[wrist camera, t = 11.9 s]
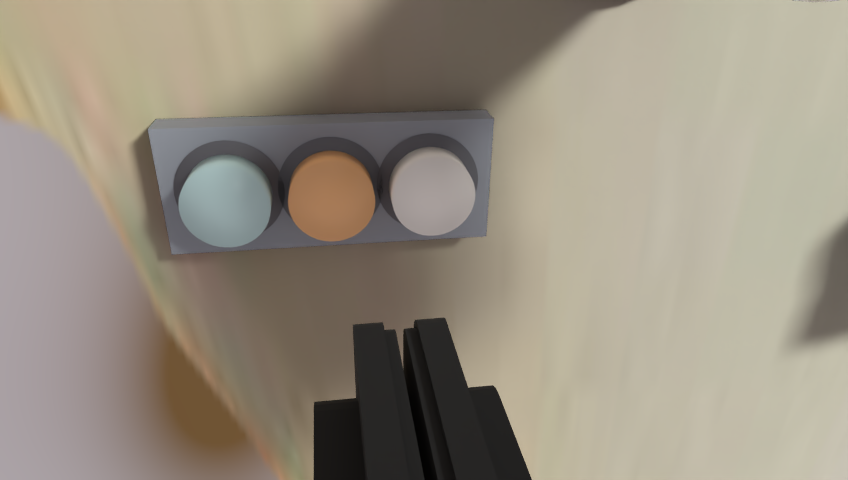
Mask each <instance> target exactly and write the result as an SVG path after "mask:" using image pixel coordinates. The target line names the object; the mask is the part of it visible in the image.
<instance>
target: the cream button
mask: <svg viewBox="0 0 848 480" xmlns="http://www.w3.org/2000/svg"><path fill="white" fill-rule="evenodd" d="M389 193H390V198H391V201H392V205H393V209H394V212H395V214H396V216H397V218H398V220H399V221H400V222H401V223H402V224H403V225H404V226H405V227H406V228H407V229H409V230H411V231H412V232H415V233H417V234H421V235H426V236H435V235H441V234H445V233H448V232H450V231H452V230H454V229H455V228H457V227H458V226H460V225H461V224H462V223H463V222H464V221H465V220H466V219H467V217H468V216H469V214H470V213H471V211H472V208H473V206H474V202H475V186H474V183H473V180H472V178H471V176H470V174H469V173H468V171H467V169H466V168H465V166H464V164H463V163H462V161H461V160H460V159H459V158H458V157H457V156H456V155H455V154H453V153H452V152H450V151H448V150H446V149H442V148H438V147H424V148H419V149H416V150H414V151H412V152H410V153H408V154H407V155H405V156H404V157H403V158H402V159H401V160H400V161H399V162H398V163H397V164H396V166H395V167H394V169H393V171H392V173H391V176H390V180H389Z"/></svg>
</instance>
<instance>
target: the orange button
mask: <svg viewBox="0 0 848 480" xmlns="http://www.w3.org/2000/svg"><path fill="white" fill-rule="evenodd" d="M288 207H289V212H290V215H291V217H292V219H293V221H294V222H295V224H296V225H297V226H298V228H299V229H300V230H302V231H303V232H304V233H306V234H307V235H309V236H311V237H313V238H315V239H318V240H322V241H341V240H345V239H348V238H351V237H353V236H355V235H356V234H358V233H359V232H361V231H362V230H363V229H364V228H365V227H366V226H367V224H368V223H369V221H370V220H371V218H372V216H373V213H374V209H375V194H374V190H373V185H372V181H371V177H370V175H369V173H368V171H367V169H366V168H365V166H364V165H363V164H362V163H361V162H360V161H359V160H357V159H356V158H355V157H353V156H351V155H349V154H347V153H344V152H340V151H322V152H318V153H315V154H312V155H310V156H309V157H307V158H306V159H304V160H303V161H302V162H301V163H300V164H299V165H298V166H297V167H296V169H295V170H294V172H293V174H292V176H291V180H290V186H289V196H288Z"/></svg>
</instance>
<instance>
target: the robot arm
mask: <svg viewBox="0 0 848 480" xmlns="http://www.w3.org/2000/svg"><path fill="white" fill-rule="evenodd" d="M794 1H805V2H827V1H838V0H794ZM353 339H354V361H355V382H356V398H353V399H342V400H332V401H321V402H314V480H532V479H531V477H530V474H529V471H528V469H527V466H526V464H525V461H524V458H523V456H522V453H521V451H520V448H519V446H518V443H517V440H516V438H515V435H514V433H513V430H512V427H511V425H510V422H509V420H508V417H507V414H506V412H505V409H504V407H503V404H502V401H501V399H500V396H499V394H498V392H497V390H496V388H495V387H494V386H482V387H471V388H468V386H467V383H466V380H465V377H464V374H463V371H462V368H461V365H460V362H459V359H458V356H457V352H456V349H455V346H454V343H453V340H452V337H451V334H450V331H449V328H448V325H447V322H446V319H445V318H434V319H421V320H415V321H414V328H407V329H404V334H403V366H402V361H401V356H400V351H399V346H398V341H397V336H396V331H395V329H394V330H384V325H383V322H381V323H368V324H355V325H353Z"/></svg>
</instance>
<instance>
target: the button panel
mask: <svg viewBox="0 0 848 480" xmlns="http://www.w3.org/2000/svg"><path fill="white" fill-rule="evenodd" d="M493 125H494V118H493V117H492V116H491V115H490V114H489V112H488V111H487V110H458V111H423V112H388V113H353V114H318V115H284V116H249V117H214V118H179V119H155V121H154V122H153V123H152V124H151V126H150V127H149V128H148V133H149V139H150V144H151V149H152V154H153V159H154V164H155V170H156V175H157V180H158V185H159V190H160V196H161V201H162V206H163V211H164V216H165V222H166V227H167V232H168V237H169V242H170V247H171V253H172V254H190V253H207V252H224V251H241V250H258V249H276V248H293V247H310V246H327V245H344V244H361V243H379V242H396V241H413V240H430V239H447V238H464V237H482V236H486V231H487V216H488V201H489V186H490V170H491V155H492V140H493ZM424 147H438V148H442V149H446V150H448V151H450V152H452V153H453V154H455V155H456V156H457V157H458V158H459V159H460V160H461V161H462V163H463V164H464V166H465V168H466V169H467V171H468V173H469V174H470V176H471V178H472V180H473V183H474V186H475V202H474V206H473V208H472V211H471V213H470V214H469V216H468V217H467V219H466V220H465V221H464V222H463V223H462V224H461V225H460V226H458V227H457V228H455V229H454V230H452V231H450V232H448V233H445V234H441V235H435V236H426V235H421V234H417V233H415V232H412V231H411V230H409V229H407V228H406V227H405V226H404V225H403V224H402V223H401V222H400V221H399V220H398V218H397V216H396V214H395V212H394V209H393V205H392V201H391V198H390V193H389V180H390V176H391V173H392V171H393V169H394V167H395V166H396V164H397V163H398V162H399V161H400V160H401V159H402V158H403V157H404V156H405V155H407V154H408V153H410V152H412V151H414V150H416V149H419V148H424ZM322 151H340V152H344V153H347V154H349V155H351V156H353V157H355V158H356V159H357V160H359V161H360V162H361V163H362V164H363V165H364V166H365V168H366V169H367V171H368V173H369V175H370V177H371V181H372V185H373V190H374V194H375V209H374V213H373V216H372V218H371V220H370V221H369V223H368V224H367V226H366V227H365V228H364V229H363V230H362V231H361V232H359V233H358V234H356V235H355V236H353V237H351V238H348V239H345V240H341V241H322V240H318V239H315V238H313V237H311V236H309V235H307V234H306V233H304V232H303V231H302V230H300V229H299V228H298V226H297V225H296V224H295V222H294V221H293V219H292V217H291V215H290V212H289V207H288V196H289V186H290V180H291V176H292V174H293V172H294V170H295V169H296V167H297V166H298V165H299V164H300V163H301V162H302V161H303V160H304V159H306V158H307V157H309V156H310V155H312V154H315V153H318V152H322ZM216 155H236V156H239V157H243V158H245V159H247V160H249V161H251V162H253V163H254V164H256V165H257V166H258V167H259V168H260V169H261V170H262V171H263V172H264V173H265V175H266V176H267V178H268V180H269V182H270V184H271V187H272V194H273V199H272V206H271V213H270V218H269V222H268V224H267V226H266V228H265V229H264V231H263V232H262V233H261V234H260V235H259V236H258V237H257V238H256V239H254V240H253V241H251V242H249V243H247V244H245V245H242V246H238V247H218V246H213V245H210V244H207V243H205V242H203V241H201V240H200V239H198V238H197V237H195V236H194V235H193V234H192V233H191V232H190V231H189V230H188V229H187V227H186V226H185V224H184V223H183V221H182V219H181V216H180V213H179V206H178V203H179V196H180V193H181V190H182V188H183V186H184V184H185V182H186V180H187V178H188V176H189V174H190V172H191V171H192V169H193V168H194V167H195V166H196V165H197V164H198V163H200V162H201V161H203V160H205V159H207V158H209V157H212V156H216Z"/></svg>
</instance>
